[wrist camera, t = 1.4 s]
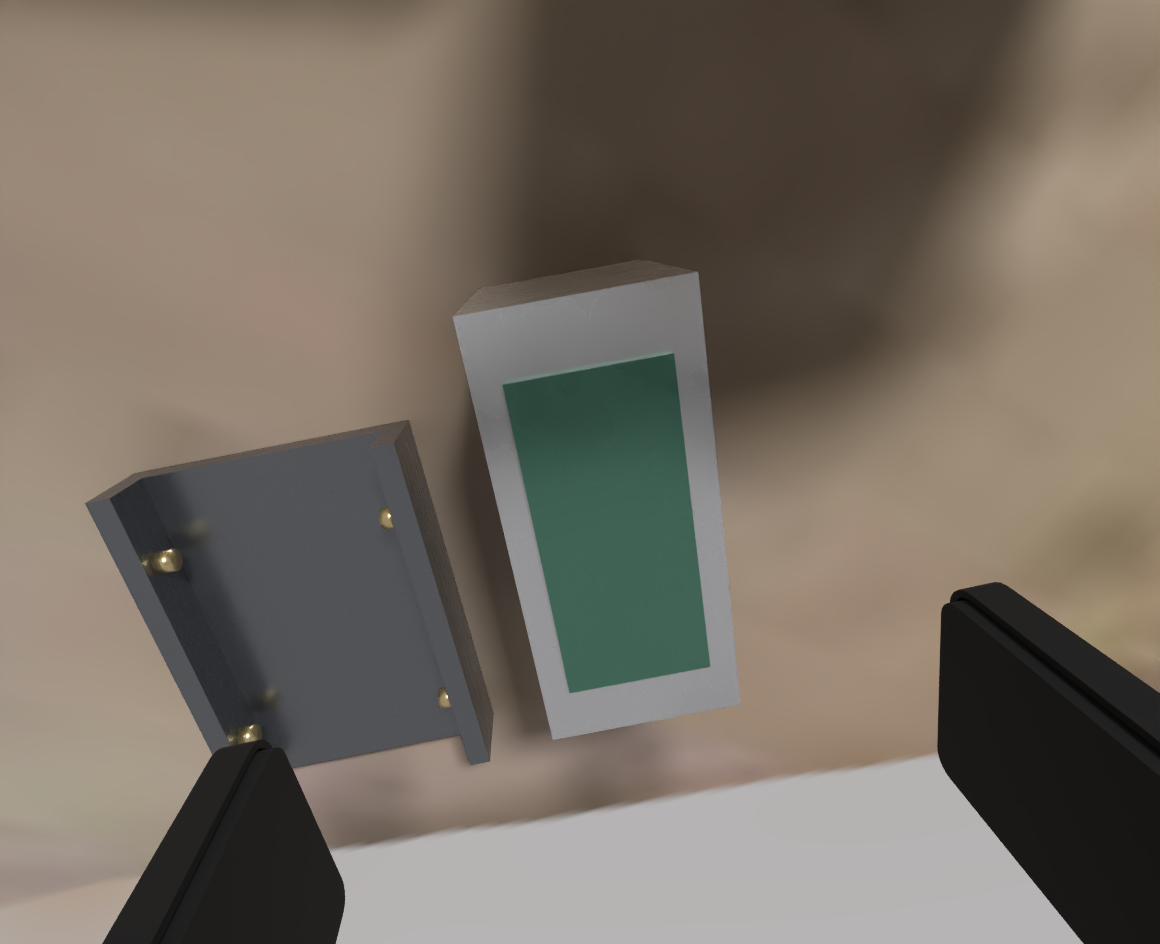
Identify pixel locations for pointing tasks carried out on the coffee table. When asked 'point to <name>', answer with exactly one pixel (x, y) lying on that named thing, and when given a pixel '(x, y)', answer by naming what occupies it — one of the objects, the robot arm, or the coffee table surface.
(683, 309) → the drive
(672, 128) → the coffee table surface
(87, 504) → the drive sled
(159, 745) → the coffee table surface
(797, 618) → the coffee table surface
